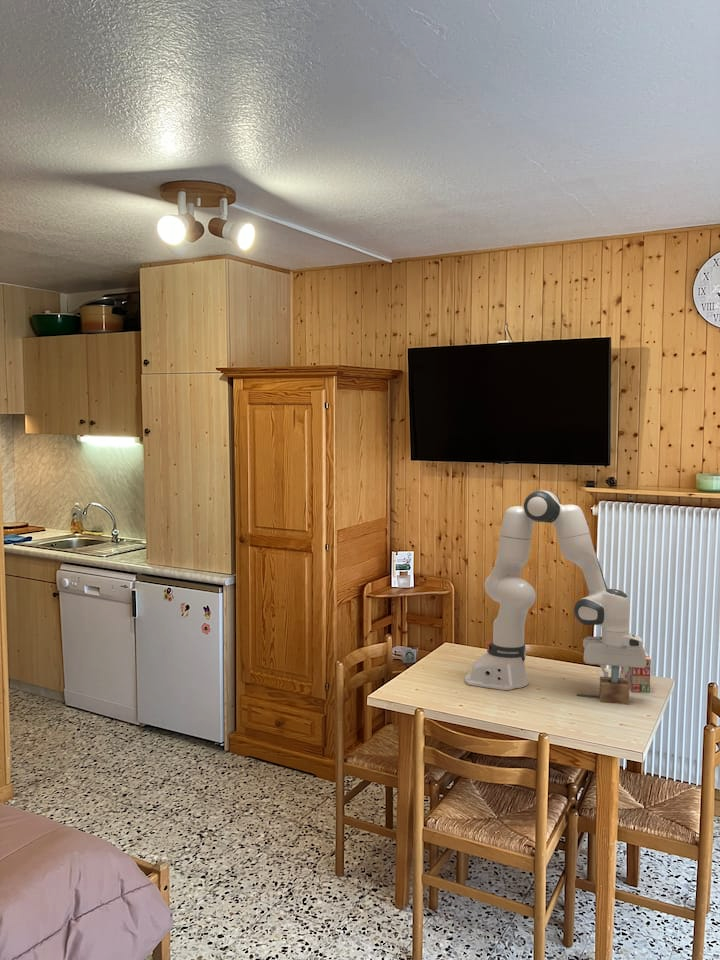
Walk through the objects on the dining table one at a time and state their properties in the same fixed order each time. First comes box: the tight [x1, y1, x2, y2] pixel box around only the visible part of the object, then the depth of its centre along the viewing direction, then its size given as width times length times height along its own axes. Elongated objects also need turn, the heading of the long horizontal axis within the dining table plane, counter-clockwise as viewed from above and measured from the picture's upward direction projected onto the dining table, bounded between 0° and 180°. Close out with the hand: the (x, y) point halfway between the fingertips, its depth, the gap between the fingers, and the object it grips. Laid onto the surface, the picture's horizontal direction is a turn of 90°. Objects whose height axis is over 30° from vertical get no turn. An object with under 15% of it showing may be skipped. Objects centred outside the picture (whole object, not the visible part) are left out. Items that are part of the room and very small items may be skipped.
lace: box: [576, 693, 599, 699], centre depth 267 cm, size 7×1×1 cm, turn 75°
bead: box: [599, 675, 630, 705], centre depth 264 cm, size 9×9×6 cm
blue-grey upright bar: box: [610, 666, 620, 683], centre depth 264 cm, size 2×2×11 cm
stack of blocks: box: [620, 651, 652, 694], centre depth 281 cm, size 21×6×12 cm, turn 172°
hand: (614, 678), depth 264 cm, fingers open, 4 cm apart
